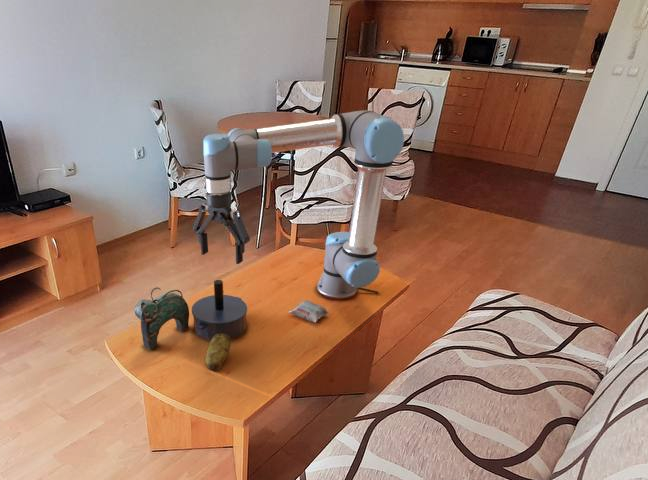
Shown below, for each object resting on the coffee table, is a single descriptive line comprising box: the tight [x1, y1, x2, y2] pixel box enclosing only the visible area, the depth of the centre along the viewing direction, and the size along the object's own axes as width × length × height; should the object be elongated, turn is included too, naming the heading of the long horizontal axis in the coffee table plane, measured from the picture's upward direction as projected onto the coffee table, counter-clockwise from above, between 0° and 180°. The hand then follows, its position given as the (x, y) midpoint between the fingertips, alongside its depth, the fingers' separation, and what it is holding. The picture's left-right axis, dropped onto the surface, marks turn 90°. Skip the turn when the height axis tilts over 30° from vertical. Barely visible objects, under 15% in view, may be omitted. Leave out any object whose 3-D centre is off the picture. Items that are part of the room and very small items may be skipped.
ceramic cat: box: [134, 286, 190, 351], centre depth 164 cm, size 20×6×20 cm, turn 137°
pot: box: [192, 296, 247, 340], centre depth 173 cm, size 18×23×7 cm
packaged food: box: [288, 300, 330, 323], centre depth 178 cm, size 9×12×5 cm
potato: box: [204, 333, 232, 372], centre depth 156 cm, size 8×13×8 cm, turn 146°
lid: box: [191, 279, 248, 324], centre depth 168 cm, size 19×19×11 cm
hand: (221, 257), depth 161 cm, fingers open, 13 cm apart
